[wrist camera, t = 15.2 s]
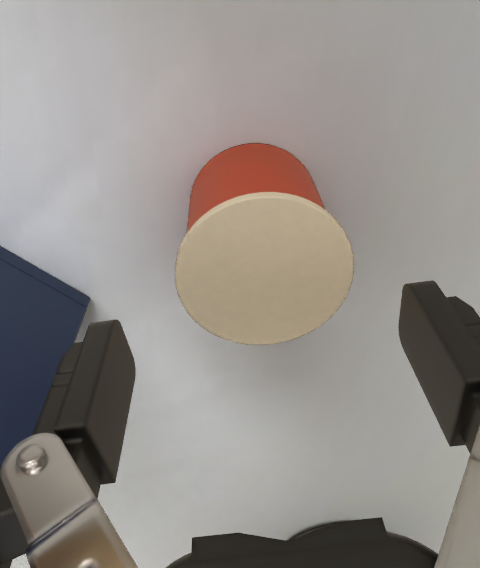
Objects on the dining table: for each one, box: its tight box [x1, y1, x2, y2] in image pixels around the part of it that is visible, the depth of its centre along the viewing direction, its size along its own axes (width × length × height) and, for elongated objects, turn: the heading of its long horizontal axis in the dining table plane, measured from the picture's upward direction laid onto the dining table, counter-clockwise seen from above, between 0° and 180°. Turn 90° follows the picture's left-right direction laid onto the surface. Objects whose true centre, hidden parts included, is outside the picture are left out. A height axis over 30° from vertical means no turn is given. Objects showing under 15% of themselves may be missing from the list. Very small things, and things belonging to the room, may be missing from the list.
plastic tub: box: [175, 143, 354, 345], centre depth 17 cm, size 6×6×6 cm
